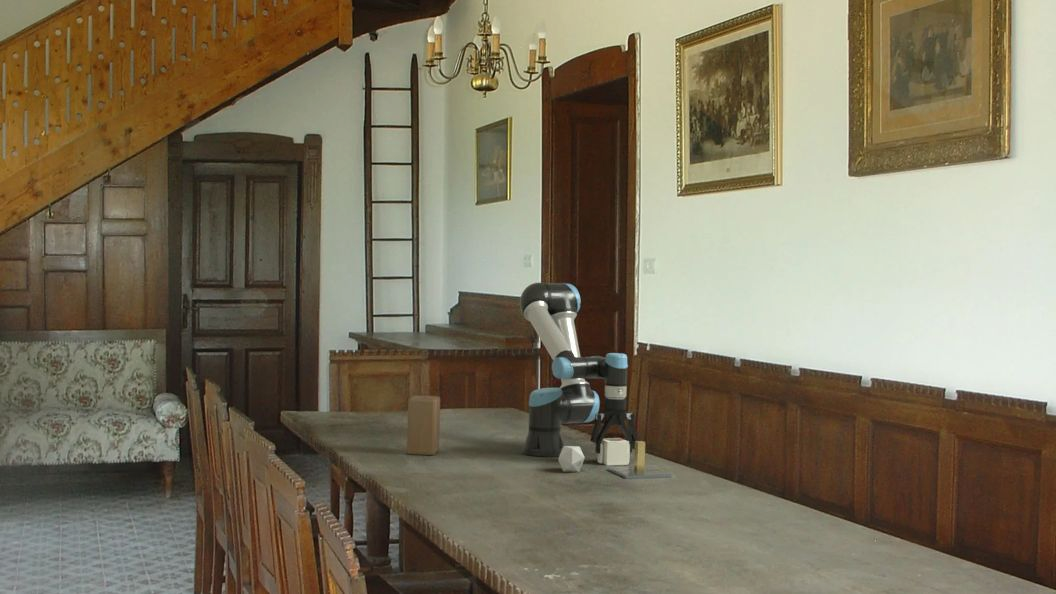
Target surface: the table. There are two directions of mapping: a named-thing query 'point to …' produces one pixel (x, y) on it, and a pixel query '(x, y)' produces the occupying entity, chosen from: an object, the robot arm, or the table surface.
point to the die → (571, 459)
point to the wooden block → (423, 425)
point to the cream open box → (615, 451)
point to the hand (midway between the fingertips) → (613, 462)
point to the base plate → (639, 466)
